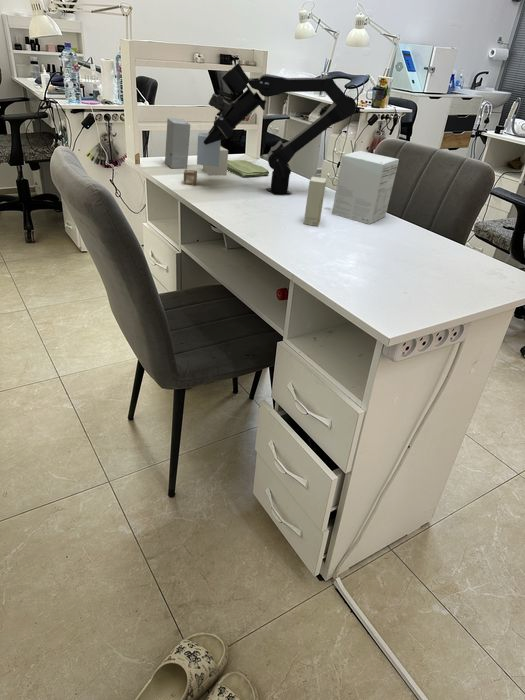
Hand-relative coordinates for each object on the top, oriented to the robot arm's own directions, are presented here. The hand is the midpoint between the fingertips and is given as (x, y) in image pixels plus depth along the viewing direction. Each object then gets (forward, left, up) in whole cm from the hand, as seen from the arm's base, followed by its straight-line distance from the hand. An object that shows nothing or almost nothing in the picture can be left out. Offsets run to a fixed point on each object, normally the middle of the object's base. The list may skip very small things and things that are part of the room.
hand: (205, 141), depth 158 cm
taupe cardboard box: (+16, -10, -14) cm, 23 cm away
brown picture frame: (+2, +4, -14) cm, 14 cm away
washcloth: (+18, -23, -14) cm, 32 cm away
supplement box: (-36, -38, -14) cm, 55 cm away
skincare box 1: (+26, +1, -14) cm, 29 cm away
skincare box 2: (-40, -18, -14) cm, 47 cm away
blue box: (-1, -1, -7) cm, 7 cm away
